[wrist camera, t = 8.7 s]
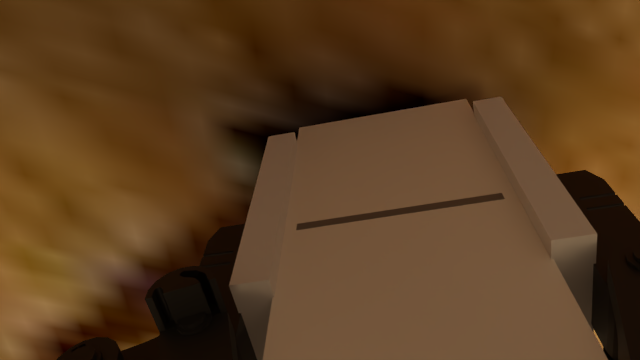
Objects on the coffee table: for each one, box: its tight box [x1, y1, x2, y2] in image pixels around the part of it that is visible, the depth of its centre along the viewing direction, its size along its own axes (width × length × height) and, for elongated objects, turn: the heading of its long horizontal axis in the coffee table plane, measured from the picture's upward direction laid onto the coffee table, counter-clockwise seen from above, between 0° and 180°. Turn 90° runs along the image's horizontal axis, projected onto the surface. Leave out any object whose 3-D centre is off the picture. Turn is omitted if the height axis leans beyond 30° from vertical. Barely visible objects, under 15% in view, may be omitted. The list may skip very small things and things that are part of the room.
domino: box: [263, 99, 608, 360], centre depth 13 cm, size 2×5×11 cm, turn 101°
